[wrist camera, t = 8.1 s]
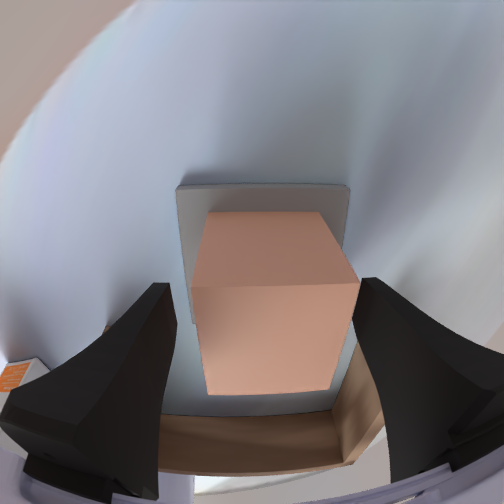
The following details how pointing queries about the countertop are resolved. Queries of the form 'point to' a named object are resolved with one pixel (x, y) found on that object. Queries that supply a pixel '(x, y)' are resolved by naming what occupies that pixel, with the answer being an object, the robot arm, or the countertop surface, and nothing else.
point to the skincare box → (11, 379)
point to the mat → (253, 210)
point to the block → (271, 302)
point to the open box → (276, 435)
